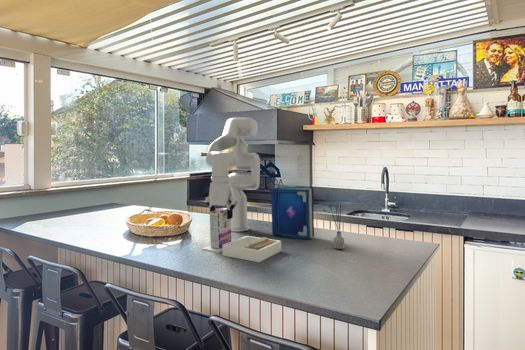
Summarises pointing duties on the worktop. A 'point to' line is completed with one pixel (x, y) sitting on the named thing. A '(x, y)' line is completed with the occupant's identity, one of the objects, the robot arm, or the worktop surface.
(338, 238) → the reed diffuser
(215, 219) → the candy bar box
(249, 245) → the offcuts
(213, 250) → the mat
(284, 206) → the book
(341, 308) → the worktop surface
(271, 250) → the box
